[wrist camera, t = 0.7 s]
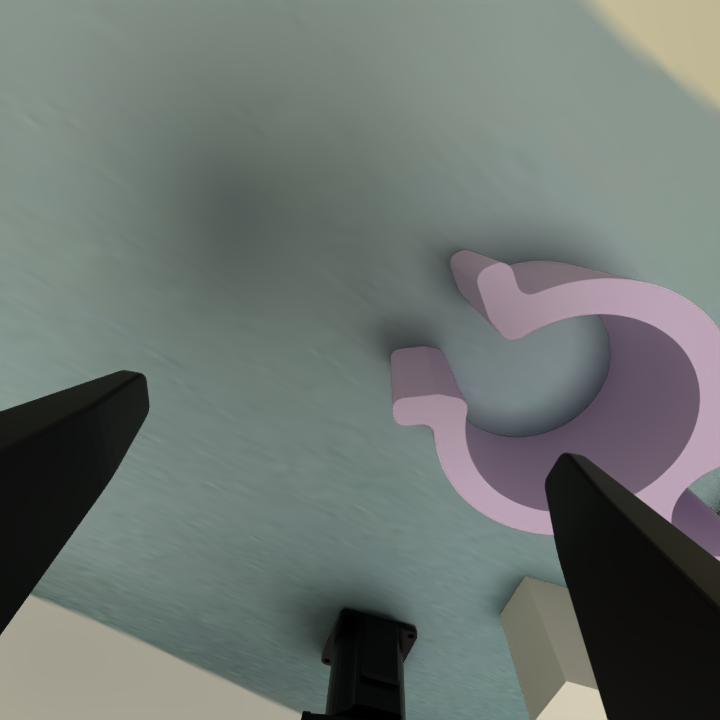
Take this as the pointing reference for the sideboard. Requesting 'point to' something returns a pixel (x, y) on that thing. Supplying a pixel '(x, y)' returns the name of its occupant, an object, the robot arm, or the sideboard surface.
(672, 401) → the clip
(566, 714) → the block
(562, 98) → the sideboard surface
